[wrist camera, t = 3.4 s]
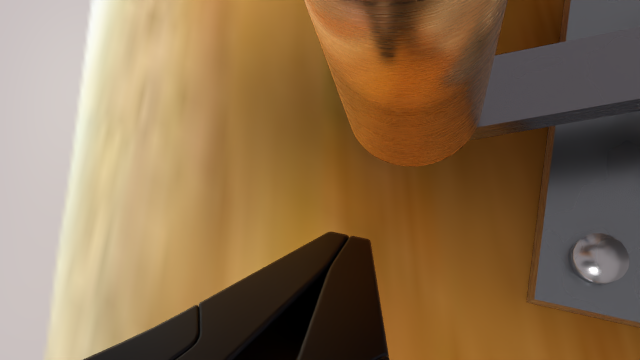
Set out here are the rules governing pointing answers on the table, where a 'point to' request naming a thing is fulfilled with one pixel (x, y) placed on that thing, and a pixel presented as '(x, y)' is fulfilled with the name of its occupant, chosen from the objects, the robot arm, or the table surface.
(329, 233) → the robot arm
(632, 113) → the base plate
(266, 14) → the table surface
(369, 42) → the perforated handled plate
